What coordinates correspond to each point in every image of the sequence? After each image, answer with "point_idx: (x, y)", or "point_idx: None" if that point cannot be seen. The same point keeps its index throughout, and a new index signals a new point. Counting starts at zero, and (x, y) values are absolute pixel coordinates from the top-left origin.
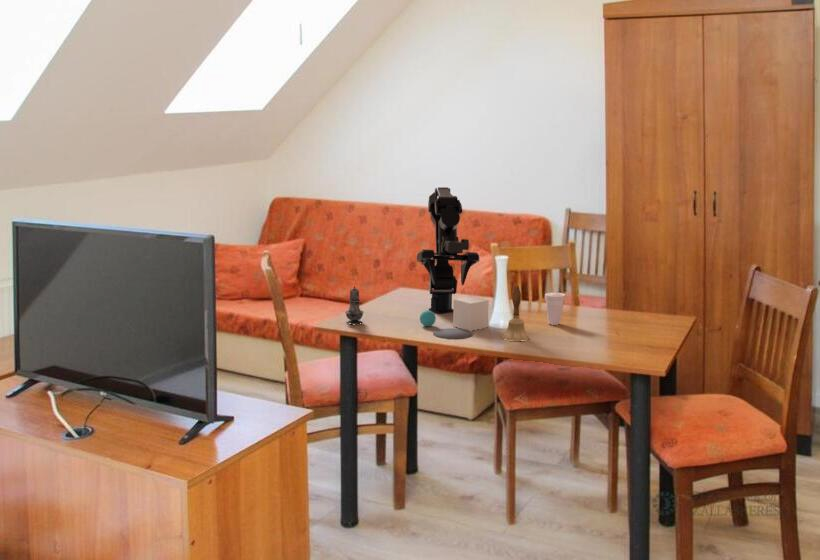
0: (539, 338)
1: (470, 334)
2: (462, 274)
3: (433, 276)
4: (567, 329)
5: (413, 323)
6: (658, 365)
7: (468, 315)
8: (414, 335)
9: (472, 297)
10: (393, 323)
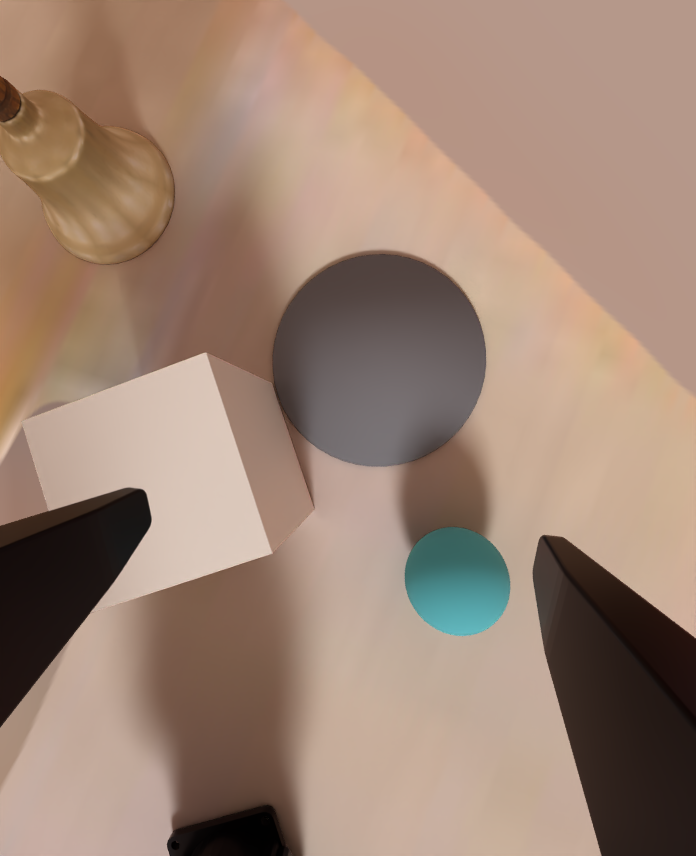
0: None
1: (297, 309)
2: (10, 620)
3: (631, 600)
4: None
5: (503, 651)
6: None
7: (247, 384)
8: (593, 393)
9: None
10: None
